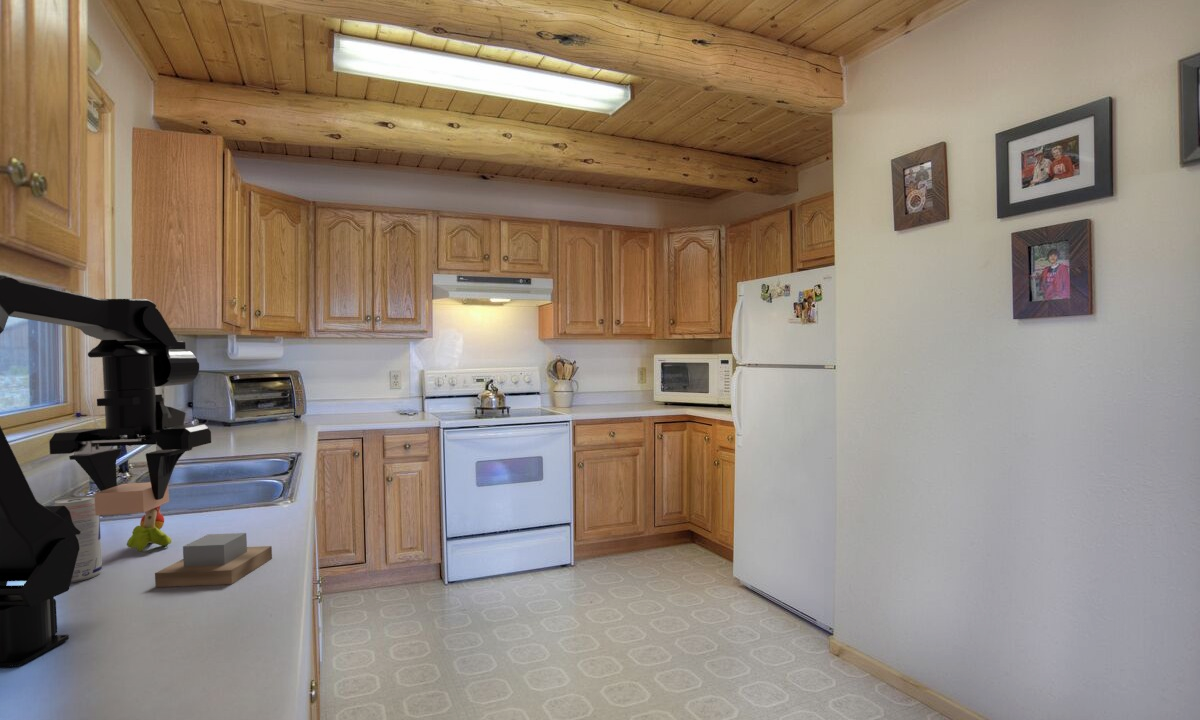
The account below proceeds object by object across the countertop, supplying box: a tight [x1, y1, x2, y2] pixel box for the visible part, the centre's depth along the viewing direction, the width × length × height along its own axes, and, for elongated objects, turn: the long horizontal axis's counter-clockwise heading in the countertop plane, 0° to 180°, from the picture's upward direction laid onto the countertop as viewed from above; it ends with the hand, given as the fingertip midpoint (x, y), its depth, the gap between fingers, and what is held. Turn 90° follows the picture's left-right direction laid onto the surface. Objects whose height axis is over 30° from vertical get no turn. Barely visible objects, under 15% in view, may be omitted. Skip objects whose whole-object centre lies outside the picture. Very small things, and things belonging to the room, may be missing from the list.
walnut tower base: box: [154, 545, 273, 588], centre depth 94 cm, size 11×11×2 cm
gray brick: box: [182, 532, 248, 567], centre depth 94 cm, size 6×6×3 cm
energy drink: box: [53, 494, 103, 583], centre depth 93 cm, size 5×5×12 cm
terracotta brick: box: [94, 481, 170, 516], centre depth 85 cm, size 6×6×3 cm
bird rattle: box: [125, 505, 172, 552], centre depth 109 cm, size 6×11×9 cm
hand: (135, 500), depth 86 cm, fingers closed on terracotta brick, 6 cm apart
